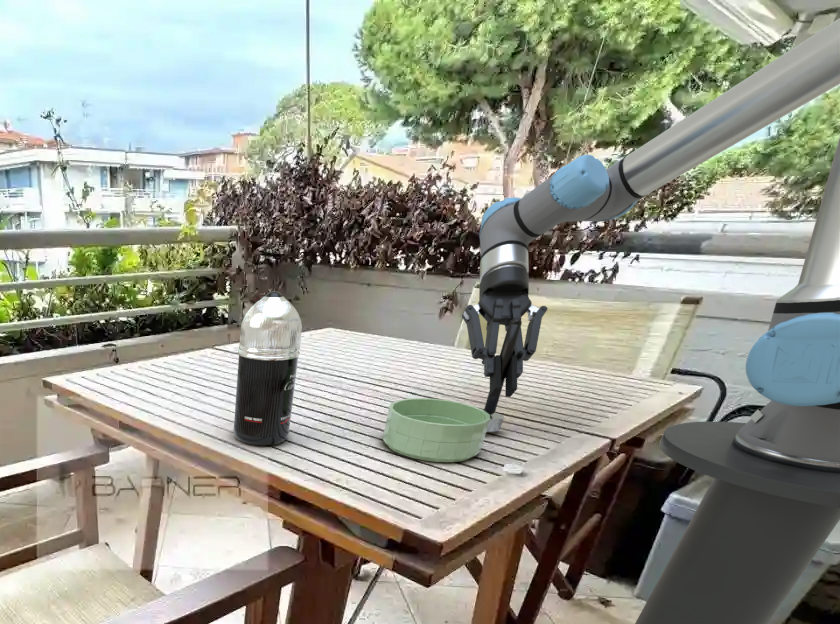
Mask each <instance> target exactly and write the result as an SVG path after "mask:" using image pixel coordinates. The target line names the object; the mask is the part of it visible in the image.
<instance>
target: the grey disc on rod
mask: <svg viewBox="0 0 840 624" xmlns="http://www.w3.org/2000/svg"><path fill="white" fill-rule="evenodd" d="M522 324H523V323H522V319H521V320H520V319H519V318H514V319H512V320H511V321H510V322H509V325H508V329H507V331H505V332H506V333H505V336H504V340H503V342H502V346H501V349H500V352H499V355H501V389H500V390H499V391H498V392H497V394H496V395H495V396H490V390H489V391H488V395H487V397H486V398H487V399H486V401H485V405H484V409H483V410H484V411H486V412H487V413H488V414H489V415H490V421H489V425H488V428H487V431H486V433H494V432H499V431H500V430H501V429H502V425H503V422H504V419H505V416H504V415H503V414H501V413H498V412H496V411H497V407H498V404H499V400H500V397H501V394H502V391H503V387H504V384H505V377H506V374H507V371H508V367H509V364H510V361H511V357H512V354H513V351H514V347H515V344H516V341H517V337H518V334H519V331H520V327H521V328H522Z"/></svg>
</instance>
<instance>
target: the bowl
mask: <svg viewBox="0 0 840 624" xmlns="http://www.w3.org/2000/svg"><path fill="white" fill-rule="evenodd" d="M489 421H490V415H489V414H488V413H487V412H486V411H484V409H481V408H479V407H477V406H475V405H472V404H469V403H464V402H460V401H455V400H449V399H440V398H431V397H430V398H423V397H422V398H421V397H417V398H416V397H415V398H404V399H403V398H402V399H399V400H395V401H393V402H391V403H390V404H389V406H388V410H387V415H386V420H385V425H384V430H383V434H382V435H383V436H382V440H383V442H384V444H385V445H387V447H388V448H389V449H390V450H392V451H393V452H395V453H397V454H399V455H402V456H405V457H408V458H412V459H415V460H421V461H424V462H425V461H426V462H432V463H433V462H435V463H459V462H463V461H467V460H470V459H472V458H473V457H476V456H477V455H479V453H481V450H482V447H483V444H484V441H485V438H486V434H487V432H486V431H487V428H488V425H489Z"/></svg>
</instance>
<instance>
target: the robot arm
mask: <svg viewBox="0 0 840 624" xmlns="http://www.w3.org/2000/svg"><path fill="white" fill-rule="evenodd" d="M837 86H840V17H839V18H837V19H836V20H834V21H833V22H831V23H830V24H828V25H826V26H824V27H823V28H822V29H820V30H819V31H817V32H816V33H814V34H813V35H811V36H809V37H808V38H807V39H805V40H803V41H802V42H801V43H799V44H798V45H795V46H794V47H792V48H791V49H789V50H788V51H786V52H785V53H783V54H782V55H780V56H779V57H777V58H776V59H774V60H773V61H771V62H770V63H768V64H766V65H765V66H763V67H762V68H760V69H759V70H756V72H754V73H752V74H751V75H750V76H748V77H746V78H744V79H743V80H742V81H740V82H739V83H737V84H735V85H734V86H732V87H730V88H729V89H728V90H726V91H725V92H723V93H721V94H720V95H718V96H717V97H715V98H714V99H712V100H711V101H709V102H708V103H706V104H704V105H703V106H701V107H699V108H698V109H697V110H696V111H694V112H692V113H690V114H689V115H688V116H686V117H684V118H683V119H681V120H680V121H678V122H677V123H675V124H674V125H672V126H670V127H669V128H668V129H667V128H666V130H665V131H662V132H661V133H660V134H658V135H657V136H654V138H652V139H651V140H648V142H646V143H644V144H643V145H641V146H640V147H638V148H637V149H635V150H633V151H632V152H630V153H629V154H627V155H626V156H625V157H623V158H621V159H620V160H619V161H617V162H614V164H612V165H611V166H609V167H607V168H606V167H605V165H604V164H603V162H602V161H601V160H600V159H599V158H596V157H595V156H593V154H582V155H580V156H578V157H576V158H575V159H573V160H572V161H569V163H567V164H565V165H564V166H561V167H560V168H559V169H558V170H556V171H555V172H554V173H553V174H552V175H551V176H549V177H548V178H547V179H545V180H544V181H543V182H542V183H540V184H539V185H538V186H536V187H535V188H533V189H532V190H531V191H529V192H528V193H526V194H525V195H524V196H522V197H516V196H515V197H513V196H511V197H506V198H504V199H503V200H500V201H496V202H494V203H493V204H491V205H490V206H489V207H488V208H487V209H486V210H485V212H484V213H483V215H482V217H481V222H480V231H479V235H478V236H479V237H478V238H479V248H480V251H479V252H480V258H479V291H478V292H479V293H478V295H479V296H478V303H477V304H475V305H472V304H468V305H466V307H465V308H464V310H463V312H462V314H461V318H462V320H463V322H464V323H465V324H466V329H467V335H468V340H469V346H470V353H471V358H472V359H473V360H478V359H479V360H481V364H482V365H483V376H484V377H485V378H489V391H490V396H495V395H496V394H497V392H498V391H499V390H500V389H501V355H500V354H497V348H498V341H499V333H500V332H499V331H500V325H501V326H504V330H505V332H507V329H508V325H509V322H510V321H511V320H512V319H514V318H519V319H520V320H521V321H522V317H523V316H524V315H525V314H527V321H528V324H527V328H526V333H525V338H524V341H523V332H522V326H521V327H520V331H519V334H518V337H517V341H516V344H515V347H514V351H513V354H512V357H511V361H510V364H509V367H508V371H507V374H506V377H505V381H504V384H505V388H504V389H505V392H504V393H505V396H504V397H505V398H511V397H512V396H513V395H514V394H515V392H516V391H517V390H518V379H519V378H520V377H521V376H522V374H523V372H524V362H528V361H530V359H531V358H532V357H533V355H534V354H536V351H537V347H538V342H539V335H540V331H541V325H542V319H543V317H544V315H545V313H546V312H548V307H547V306H546V305H542V306H540V307H537V306H535V305H533V304H532V303H533V302H532V300H531V299H530V297H529V293H530V292H529V291H530V281H529V280H530V279H529V271H530V270H529V268H530V267H529V244H530V243H531V242H533V241H535V240H536V239H538V238H539V237H541V236H542V235H544V234H545V233H547V232H549V231H550V230H551V229H553V228H555V227H556V226H558V225H560V224H561V223H565V222H566V223H567V222H597V223H600V222H607V221H610V220H615V219H617V218H620V217H622V216H624V215H625V214H627V213H628V212H630V211H631V210H632V209H633V208H634V206H635V205H636V204H637V203H638V201H639V200H640V199H642V198H644V197H645V196H647V195H649V194H651V193H653V192H654V191H656V190H658V189H659V188H661V187H662V186H665V185H666V184H669V183H670V182H671V181H673V180H675V179H677V178H678V177H680V176H682V175H684V174H685V173H688V172H689V171H691V170H693V169H694V168H696V167H698V166H699V165H701V164H703V163H705V162H706V161H709V160H710V159H712V158H713V157H715V156H717V155H719V154H720V153H722V152H724V151H726V150H727V149H729V148H731V147H733V146H735V145H736V144H738V143H740V142H741V141H743V140H745V139H746V138H748V137H750V136H752V135H754V134H756V133H757V132H758V131H761V130H762V129H764V128H766V127H768V126H769V125H771V124H773V123H775V122H776V121H778V120H780V119H782V118H783V117H785V116H787V115H788V114H790V113H792V112H794V111H795V110H797V109H799V108H801V107H802V106H805V105H806V104H807V103H809V102H811V101H813V100H815V99H817V98H819V97H820V96H822V95H823V94H826V93H827V92H828V91H830V90H832V89H834V88H836V87H837ZM799 275H800V276H799V278H798V283H797V284H796V285H795V287H794V288H792V289H791V290H789V291H788V292H786V293H785V294H783V295H782V296H780V297H779V298H777V299H776V302H775V305H774V308H773V311H772V316H771V319H770V323H769V325H768V329H767V331H766V332H764V333H763V334H762V335H761V336H760V337H759V338H758V339H757V341H756V342H755V343H754V344H753V346H752V347H751V349H750V350H749V352H748V354H747V356H746V360H745V374H746V377H747V378H746V379H747V380H748V382H749V384H750V385H751V387H752V388H753V389H754V390H755V391H756V392H757V393H758V394H760V395H761V396H763V397H764V398H766V399H767V400H770V401H769V402H767V404H766V405H764V406H763V407H762V409H760V410H759V409H757V410H755V411H754V413H753V414H752V415H750V416H749V417H750V419H749V420H748V421H747V422H745V423H746V424H745V425H744V426H743V427H742V428H741V429H740V430H739V431H738V432H737V434H736V436H735V438H734V440H733V441H732V444H733V446H734V447H736V448H737V449H739V450H740V451H742V452H745V453H747V454H749V455H752V456H755V457H758V458H761V459H764V460H767V461H771V462H775V463H779V464H783V465H787V466H792V467H797V468H802V469H808V470H814V471H822V472H830V473H840V137H839V138H838V141H837V145H836V148H835V151H834V155H833V159H832V163H831V167H830V169H829V173H828V177H827V180H826V184H825V187H824V191H823V193H822V198H821V201H820V205H819V207H818V212H817V215H816V219H815V222H814V226H813V230H812V234H811V237H810V239H809V243H808V248H807V251H806V255H805V258H804V262H803V265H802V268H801V272H800V274H799ZM480 316H481V317H482V318H483V319H484V320H485V321H486V328H485V331H486V333H485V334H486V335H485V342H484V337H483V336H484V335H483V331H482V326H481V320H480Z"/></svg>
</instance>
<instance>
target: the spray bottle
mask: <svg viewBox="0 0 840 624" xmlns="http://www.w3.org/2000/svg"><path fill="white" fill-rule="evenodd" d="M239 331H240V332H239V343H238V344H239V345H238V350H237V354H238V363H237V377H236V389H235V390H236V391H235V392H236V393H235V407H234V417H233V418H234V420H233V434H234V437H236V439H237V440H239V441H240V442H242V443H245V444H248V445H252V446H253V445H254V446H261V447H263V446H265V447H266V446H273V445H274V446H275V445H278V444H281V443H283V442H284V441H285V440H287V438H288V437H289V434H290V427H291V419H292V411H293V402H294V394H295V387H296V380H297V379H296V378H297V369H298V362H299V356H300V354H301V353H300V351H301V339H302V333H303V332H302V331H303V323H302V318H301V315H300V314H299V312H298V310H297V309H296V308H295V306H294V305H293V304H292V303H291V302H290V301H289V300H288V299H286V298H285V296H284V295H283V294H282V293H281V292H279V291H275V290H272V291H270V292H267V294H265V295H264V296H263V297H262V298H261V299H259V300H258V301H256V302H255V303H254V304H253V305H252V306H251V307H250V308H249V309H248V310H247V312H246V313H245V315H244V316H243V319H242V321H241V324H240V330H239Z"/></svg>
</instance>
